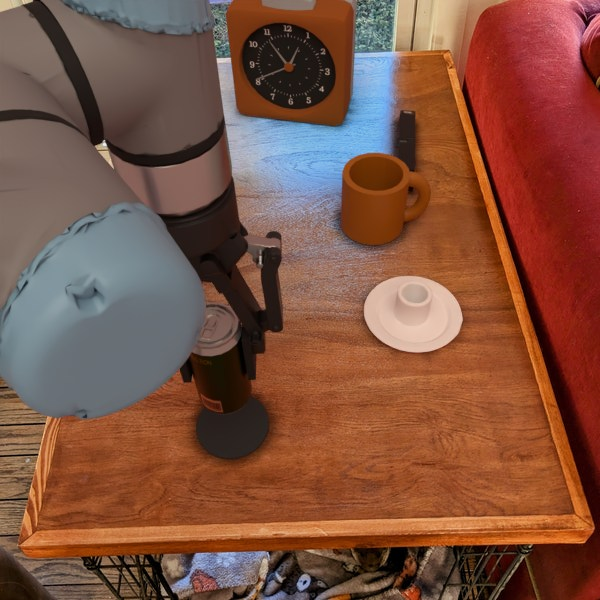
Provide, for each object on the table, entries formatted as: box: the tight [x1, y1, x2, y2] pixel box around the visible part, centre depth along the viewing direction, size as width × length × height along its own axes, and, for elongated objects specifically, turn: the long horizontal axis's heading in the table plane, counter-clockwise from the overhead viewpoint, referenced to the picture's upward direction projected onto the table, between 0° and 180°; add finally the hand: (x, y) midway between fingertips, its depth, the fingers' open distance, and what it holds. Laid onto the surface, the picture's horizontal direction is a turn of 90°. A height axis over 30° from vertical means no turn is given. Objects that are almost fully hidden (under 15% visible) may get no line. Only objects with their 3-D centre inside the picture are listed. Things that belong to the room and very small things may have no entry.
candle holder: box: [363, 275, 464, 353], centre depth 76 cm, size 12×12×4 cm
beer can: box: [188, 301, 253, 415], centre depth 59 cm, size 5×5×12 cm
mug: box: [340, 152, 432, 246], centre depth 85 cm, size 9×12×9 cm
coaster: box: [195, 395, 270, 460], centre depth 69 cm, size 8×8×1 cm
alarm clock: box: [225, 0, 358, 127], centre depth 99 cm, size 18×9×21 cm, turn 77°
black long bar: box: [396, 109, 416, 193], centre depth 97 cm, size 18×3×3 cm, turn 173°
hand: (220, 369), depth 60 cm, fingers closed on beer can, 5 cm apart
